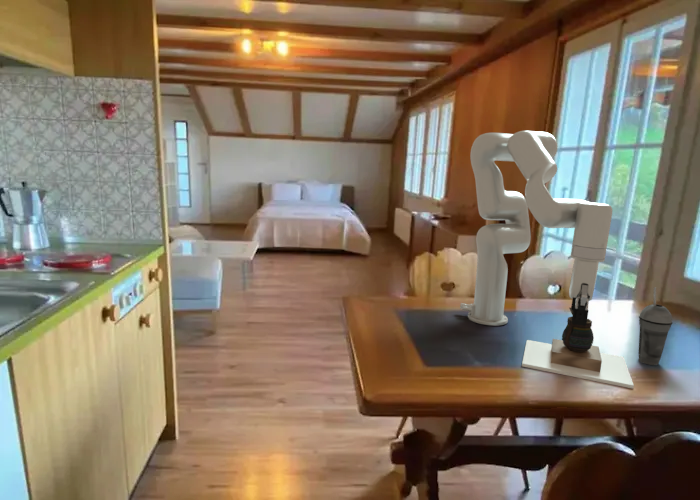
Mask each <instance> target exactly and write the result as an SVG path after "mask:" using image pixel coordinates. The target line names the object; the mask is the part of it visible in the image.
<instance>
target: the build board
mask: <svg viewBox="0 0 700 500" xmlns="http://www.w3.org/2000/svg"><path fill="white" fill-rule="evenodd" d="M551 348H552V343H547V342H542V341H535V340H530V339H527V340H526V343H525V348H524V353H523V357H522V362H521V363H522V364H521V367H522V368H523V367H525V368H529V369H534V370H538V371H544V372H549V373H553V374H554V373H555V374H559V375H564V376H567V377H574V378H578V379H583V380H584V379H585V380H587V381H594V382H598V383H603V384H608V385H613V386H619V387H621V388H622V387H624V388H626V389H627V388H628V389H634V386H635V384H634V382H633V379H632V377H631V374H630V370H629V369H628V366H627V363H626V359H625V357H624V356H620V355H614V354H609V353H605V352H604V353H603V352H600V355H601V359H602V363H601V370H600V372H596V371H591V370H585V369H580V368H575V367H570V366H565V365H560V364H554V363H551Z"/></svg>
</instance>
